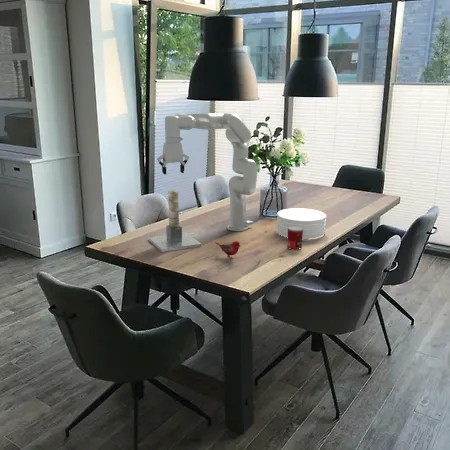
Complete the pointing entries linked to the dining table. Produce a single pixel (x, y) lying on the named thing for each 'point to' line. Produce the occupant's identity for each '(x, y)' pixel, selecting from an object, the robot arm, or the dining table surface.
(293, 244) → the canned food
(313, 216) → the plate stack
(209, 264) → the dining table surface
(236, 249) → the decorative bird figurine
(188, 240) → the metal stand
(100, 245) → the dining table surface
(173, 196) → the ash post
